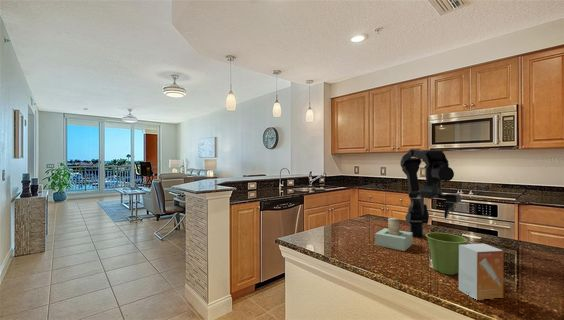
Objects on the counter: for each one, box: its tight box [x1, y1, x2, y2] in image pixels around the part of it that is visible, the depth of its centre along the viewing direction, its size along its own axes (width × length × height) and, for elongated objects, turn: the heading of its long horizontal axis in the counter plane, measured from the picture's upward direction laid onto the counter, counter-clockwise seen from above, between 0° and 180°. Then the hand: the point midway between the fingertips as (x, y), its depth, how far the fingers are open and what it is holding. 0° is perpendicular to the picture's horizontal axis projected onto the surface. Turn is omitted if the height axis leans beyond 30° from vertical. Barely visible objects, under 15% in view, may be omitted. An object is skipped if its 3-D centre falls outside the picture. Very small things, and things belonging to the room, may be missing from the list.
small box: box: [458, 243, 505, 301], centre depth 73 cm, size 8×6×13 cm
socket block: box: [374, 227, 414, 252], centre depth 116 cm, size 12×12×5 cm
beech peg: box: [387, 217, 400, 236], centre depth 116 cm, size 4×4×10 cm
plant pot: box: [425, 232, 468, 276], centre depth 88 cm, size 12×12×11 cm
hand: (433, 216), depth 112 cm, fingers open, 9 cm apart
